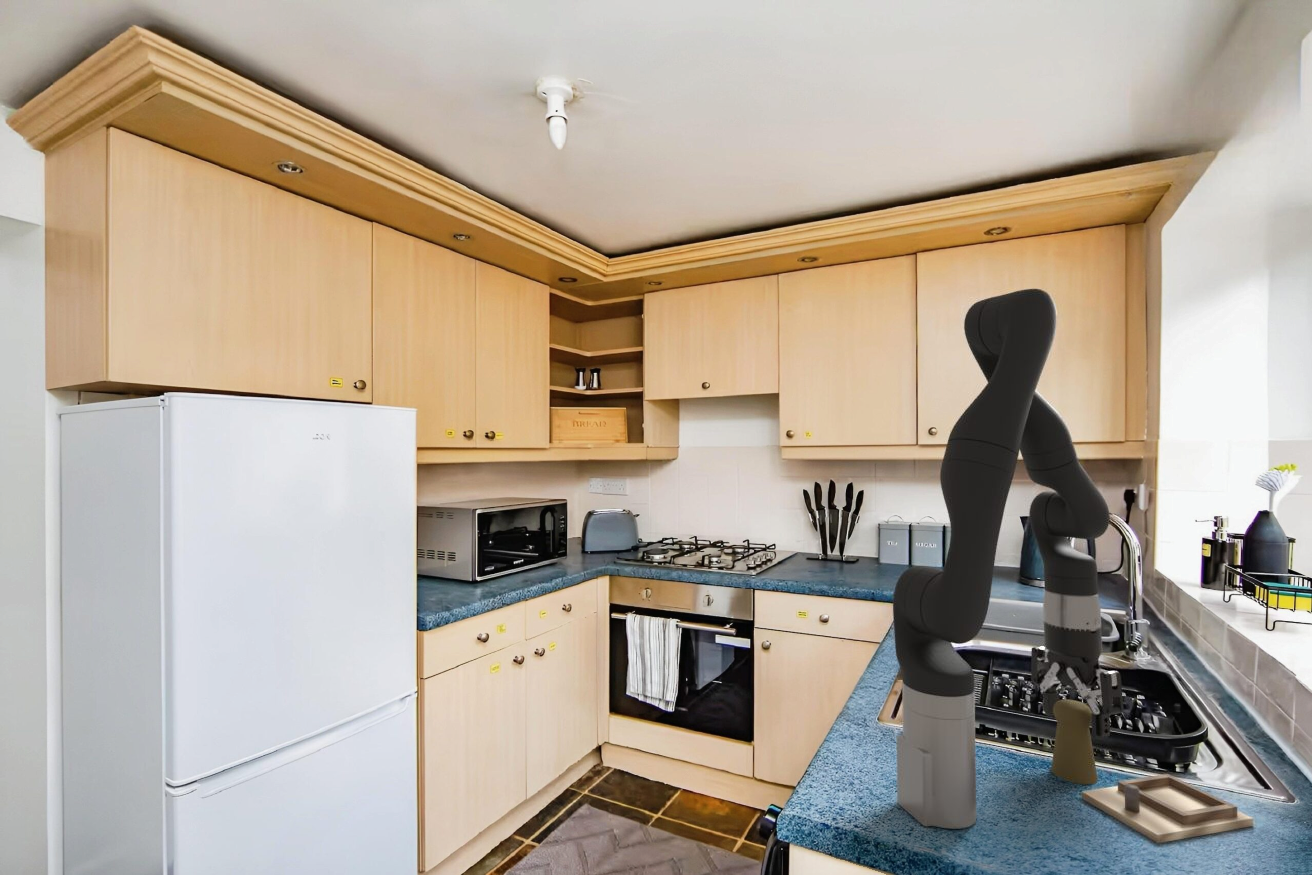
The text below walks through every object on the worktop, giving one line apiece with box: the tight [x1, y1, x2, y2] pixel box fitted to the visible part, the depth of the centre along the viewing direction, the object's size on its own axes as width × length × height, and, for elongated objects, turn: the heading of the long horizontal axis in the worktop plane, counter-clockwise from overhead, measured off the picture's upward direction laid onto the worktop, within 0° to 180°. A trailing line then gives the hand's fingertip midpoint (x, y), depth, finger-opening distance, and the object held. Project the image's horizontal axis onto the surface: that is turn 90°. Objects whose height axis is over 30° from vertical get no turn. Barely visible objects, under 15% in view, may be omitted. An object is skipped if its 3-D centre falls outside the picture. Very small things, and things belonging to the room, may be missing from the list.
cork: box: [1050, 698, 1099, 785], centre depth 99 cm, size 6×6×11 cm
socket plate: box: [1081, 773, 1254, 844], centre depth 89 cm, size 16×11×4 cm
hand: (1075, 726), depth 100 cm, fingers open, 8 cm apart
